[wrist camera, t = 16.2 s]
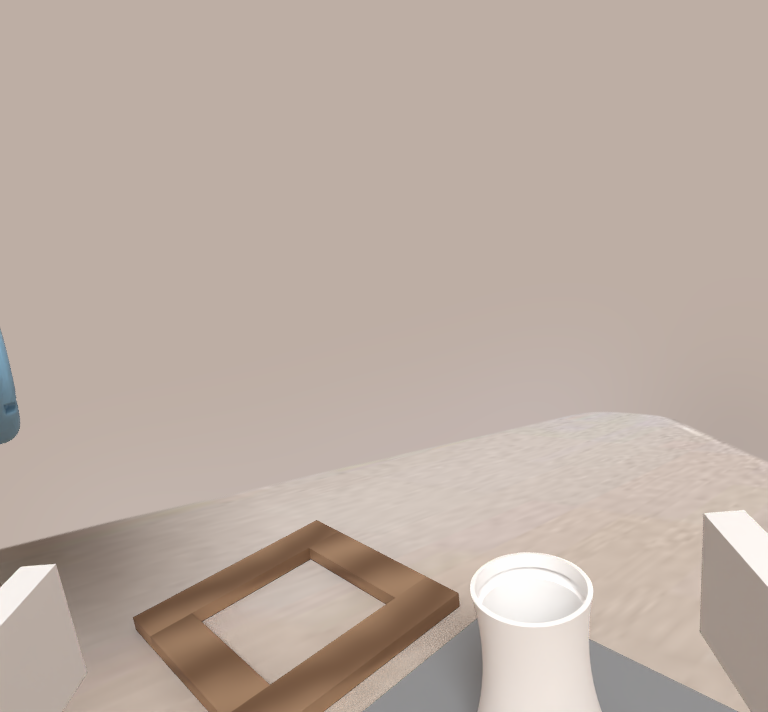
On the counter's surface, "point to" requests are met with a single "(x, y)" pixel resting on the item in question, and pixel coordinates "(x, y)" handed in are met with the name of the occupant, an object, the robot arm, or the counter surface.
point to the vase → (534, 634)
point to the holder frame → (326, 667)
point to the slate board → (465, 669)
